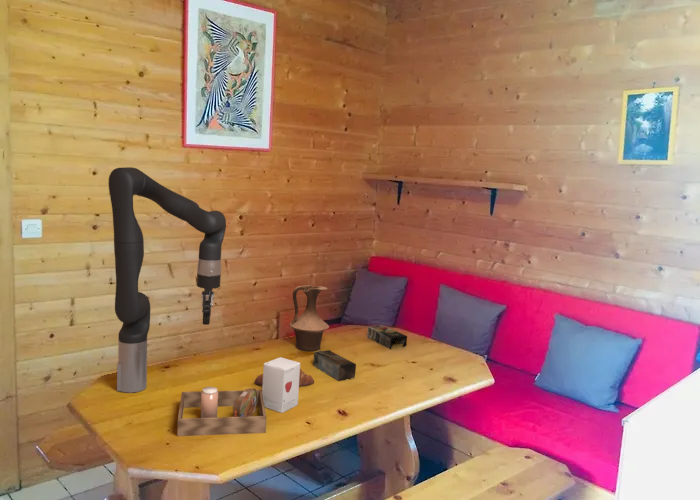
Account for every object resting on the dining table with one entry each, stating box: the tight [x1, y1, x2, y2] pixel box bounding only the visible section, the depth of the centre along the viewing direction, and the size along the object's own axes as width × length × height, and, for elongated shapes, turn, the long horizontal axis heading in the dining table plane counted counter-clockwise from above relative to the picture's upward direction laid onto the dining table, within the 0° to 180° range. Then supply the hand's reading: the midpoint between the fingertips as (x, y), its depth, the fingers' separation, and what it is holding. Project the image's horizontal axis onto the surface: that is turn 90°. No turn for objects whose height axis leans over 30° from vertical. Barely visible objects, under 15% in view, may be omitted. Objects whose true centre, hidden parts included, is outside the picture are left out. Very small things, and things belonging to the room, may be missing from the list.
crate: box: [176, 389, 267, 437], centre depth 188 cm, size 26×21×5 cm
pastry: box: [254, 368, 315, 388], centre depth 220 cm, size 17×15×8 cm
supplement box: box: [261, 356, 301, 414], centre depth 200 cm, size 9×9×15 cm
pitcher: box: [288, 284, 330, 352], centre depth 261 cm, size 18×17×28 cm
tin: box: [232, 388, 258, 417], centre depth 190 cm, size 15×3×8 cm, turn 168°
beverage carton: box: [312, 349, 357, 382], centre depth 236 cm, size 8×19×7 cm, turn 35°
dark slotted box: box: [366, 324, 408, 350], centre depth 278 cm, size 20×10×6 cm, turn 32°
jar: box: [200, 386, 219, 418], centre depth 187 cm, size 5×5×10 cm
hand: (206, 320), depth 199 cm, fingers open, 8 cm apart
